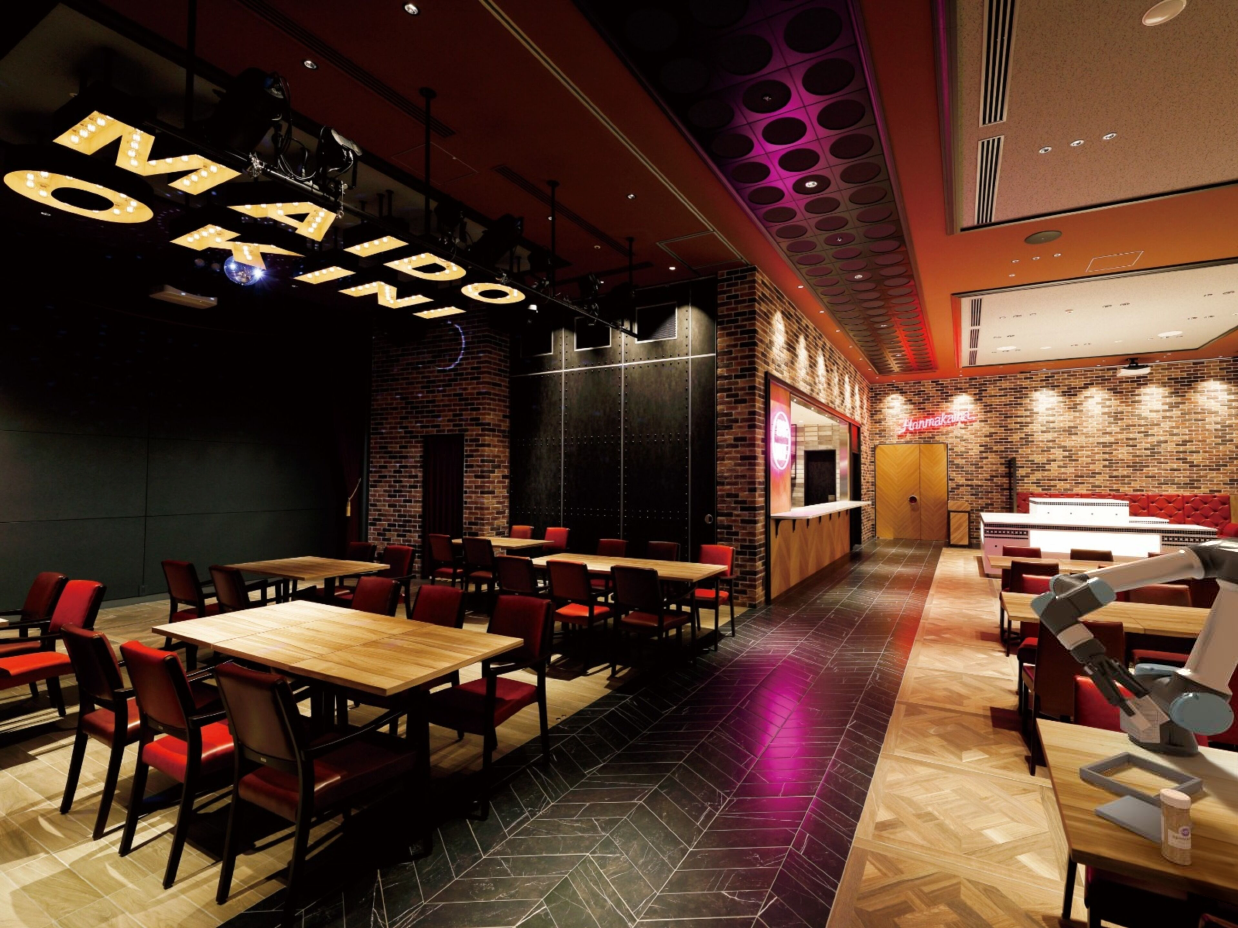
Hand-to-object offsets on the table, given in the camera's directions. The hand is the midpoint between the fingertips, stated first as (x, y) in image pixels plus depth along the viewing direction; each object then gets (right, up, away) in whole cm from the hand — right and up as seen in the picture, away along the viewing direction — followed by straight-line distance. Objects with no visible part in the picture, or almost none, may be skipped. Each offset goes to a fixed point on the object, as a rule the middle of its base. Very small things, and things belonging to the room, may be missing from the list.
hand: (1155, 724), depth 145 cm
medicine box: (-1, -4, +3) cm, 6 cm away
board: (-15, -16, -13) cm, 26 cm away
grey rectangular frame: (-1, -16, +3) cm, 17 cm away
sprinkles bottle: (-20, -16, -26) cm, 37 cm away
